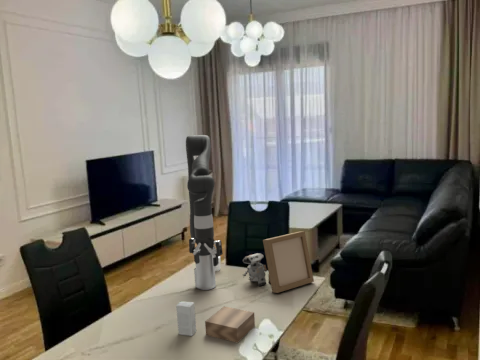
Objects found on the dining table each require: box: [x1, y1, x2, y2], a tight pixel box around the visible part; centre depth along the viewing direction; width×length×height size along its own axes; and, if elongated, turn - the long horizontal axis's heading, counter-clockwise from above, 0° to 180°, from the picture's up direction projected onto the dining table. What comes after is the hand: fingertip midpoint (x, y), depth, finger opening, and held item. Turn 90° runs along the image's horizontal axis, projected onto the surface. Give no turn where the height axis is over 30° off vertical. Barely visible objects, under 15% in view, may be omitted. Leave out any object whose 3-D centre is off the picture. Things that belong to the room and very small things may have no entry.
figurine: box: [242, 252, 268, 287], centre depth 215 cm, size 9×12×15 cm
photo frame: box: [262, 230, 315, 294], centre depth 212 cm, size 15×22×25 cm
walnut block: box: [204, 305, 256, 344], centre depth 171 cm, size 14×14×6 cm
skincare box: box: [175, 301, 197, 337], centre depth 171 cm, size 6×4×12 cm
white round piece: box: [215, 255, 222, 272], centre depth 238 cm, size 7×7×7 cm
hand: (206, 264), depth 177 cm, fingers open, 8 cm apart
